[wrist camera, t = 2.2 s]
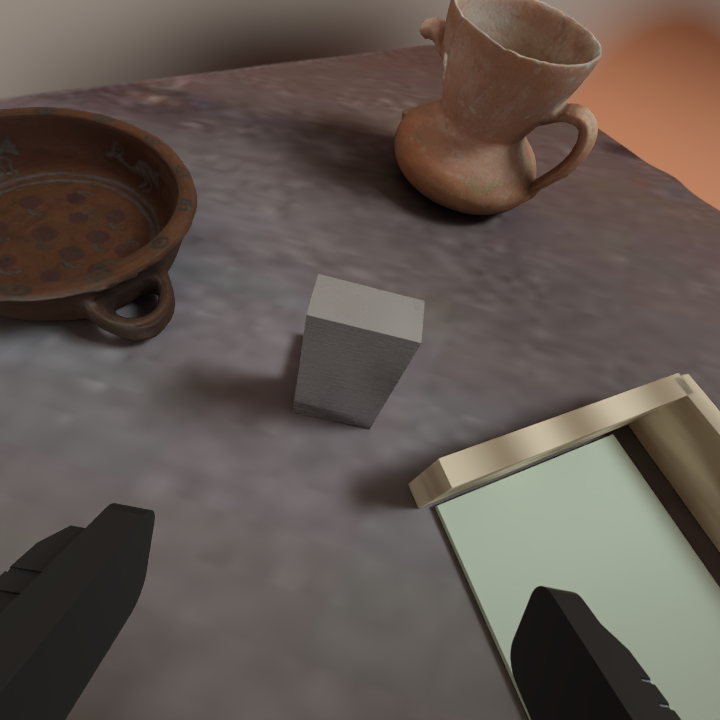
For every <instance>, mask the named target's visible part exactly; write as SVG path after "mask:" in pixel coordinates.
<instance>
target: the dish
mask: <svg viewBox="0 0 720 720" xmlns="http://www.w3.org/2000/svg"><path fill="white" fill-rule="evenodd" d="M196 208H197V194H196V190H195V187H194V183H193V180H192V177H191V175H190V172H189V170H188V169H187V168H186V166H185V165H184V164H183V162H182V161H181V160H180V158H179V157H178V155H177V154H176V153H175V152H174V151H173V150H172V149H171V148H170V147H169V146H168V145H167V144H166V143H164V142H163V141H162V140H160V139H159V138H158V137H156V136H154V135H152V134H151V133H149V132H146V131H144V130H141V129H139V128H137V127H135V126H134V125H132V124H129V123H127V122H124V121H121V120H117V119H115V118H111V117H108V116H105V115H101V114H97V113H91V112H86V111H80V110H74V109H67V108H54V107H29V108H13V109H2V110H0V316H5V317H9V318H15V319H21V320H35V321H66V320H78V319H86V318H87V319H89V320H91V321H92V322H93V323H95V324H96V325H98V326H99V327H100V328H102V329H103V330H106V331H108V332H110V333H112V334H114V335H117V336H120V337H123V338H126V339H129V340H145V339H150V338H153V337H155V336H157V335H158V334H159V333H160V332H161V331H162V330H163V329H164V328H165V327H166V325H167V324H168V323H169V321H170V320H171V318H172V316H173V313H174V309H175V298H174V292H173V288H172V285H171V282H170V278H169V275H168V270H169V269H170V267H171V265H172V264H173V262H174V260H175V258H176V255H177V253H178V250H179V247H180V245H181V242H182V239H183V238H184V236H185V235H186V233H187V232H188V230H189V228H190V226H191V224H192V220H193V218H194V215H195V212H196ZM146 293H153V294H156V295H158V297H159V299H158V304H157V307H156V308H155V309H154V310H153V311H152V312H151V313H149V314H147V315H145V316H143V317H139V318H125V317H121V316H119V315H117V314H116V313H115V309H118V308H120V307H122V306H124V305H126V304H128V303H130V302H131V301H133V300H135V299H137V298H139V297H140V296H142V295H144V294H146Z"/></svg>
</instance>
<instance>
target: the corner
mask: <svg viewBox="0 0 720 720" xmlns="http://www.w3.org/2000/svg"><path fill="white" fill-rule="evenodd" d="M626 425H628V426H629V427H630V428H631V430H632V431H633V433H634V434H635V435H636V437H637V438H638V440H639V441H640V442H641V444H642V445H643V446H644V448H645V449H646V451H647V452H648V453H649V455H650V456H651V458H652V459H653V460H654V462H655V463H656V465H657V466H658V467H659V469H660V470H661V472H662V473H663V474H664V476H665V477H666V478H667V480H668V481H669V483H670V484H671V485H672V487H673V488H674V490H675V491H676V492H677V494H678V495H679V497H680V498H681V499H682V501H683V502H684V504H685V505H686V506H687V508H688V509H689V510H690V512H691V513H692V515H693V516H694V517H695V519H696V520H697V522H698V523H699V524H700V526H701V527H702V529H703V530H704V531H705V533H706V534H707V536H708V537H709V538H710V540H711V541H712V542H713V544H714V545H715V547H716V548H717V549H718V551H719V552H720V411H719V410H718V409H717V408H716V406H715V405H714V404H713V403H712V402H711V400H710V399H709V398H708V397H707V396H706V394H705V393H704V392H703V391H702V390H701V389H700V387H699V386H698V385H697V384H696V383H695V381H694V380H693V379H692V378H691V377H690V376H689V374H686V375H683V376H680V374H679V373H677V374H674V375H671V376H669V377H666V378H663V379H660V380H657V381H655V382H652V383H649V384H646V385H643V386H641V387H638V388H635V389H632V390H629V391H627V392H624V393H621V394H618V395H615V396H613V397H610V398H607V399H604V400H601V401H599V402H596V403H593V404H590V405H587V406H585V407H582V408H579V409H576V410H573V411H571V412H568V413H565V414H562V415H559V416H557V417H554V418H551V419H548V420H545V421H543V422H540V423H537V424H534V425H531V426H529V427H526V428H523V429H520V430H517V431H515V432H512V433H509V434H506V435H503V436H501V437H498V438H495V439H492V440H489V441H487V442H484V443H481V444H478V445H475V446H473V447H470V448H467V449H464V450H461V451H459V452H456V453H453V454H450V455H447V456H445V457H442V458H439V459H437V460H436V461H435V462H434V463H433V464H431V465H430V466H429V467H428V468H427V469H425V470H424V471H423V472H422V473H421V474H419V475H418V476H417V477H416V478H415V479H414V480H412V481H411V482H410V483H409V484H408V485H409V488H410V490H411V492H412V495H413V497H414V499H415V502H416V504H417V506H418V509H419V508H422V507H424V506H427V505H429V504H432V503H434V502H436V501H439V500H441V499H444V498H446V497H449V496H451V495H454V494H456V493H459V492H461V491H464V490H466V489H469V488H471V487H474V486H476V485H479V484H481V483H484V482H486V481H489V480H491V479H494V478H496V477H499V476H501V475H504V474H506V473H509V472H511V471H514V470H516V469H519V468H521V467H524V466H526V465H529V464H531V463H534V462H536V461H539V460H541V459H544V458H546V457H549V456H551V455H553V454H556V453H558V452H561V451H563V450H566V449H568V448H571V447H573V446H576V445H578V444H581V443H583V442H586V441H588V440H591V439H593V438H596V437H598V436H601V435H603V434H606V433H608V432H611V431H613V430H616V429H618V428H621V427H623V426H626Z"/></svg>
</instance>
